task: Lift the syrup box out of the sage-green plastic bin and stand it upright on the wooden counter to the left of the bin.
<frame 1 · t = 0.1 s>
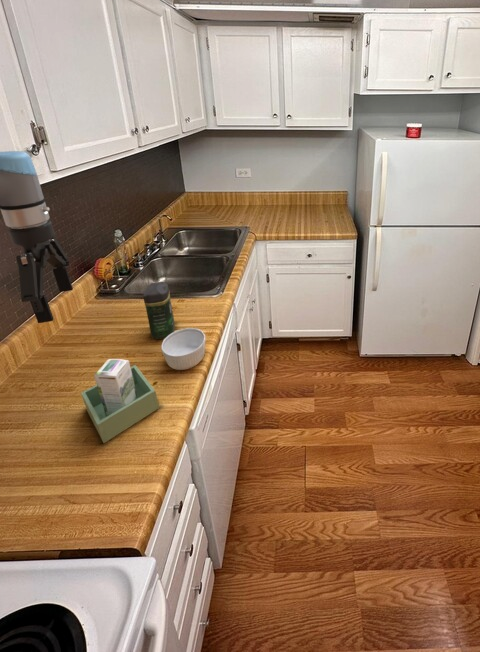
hand: (57, 304, 81), 31 cm above the counter, tool pointing down, fingers open, 13 cm apart
ramekin: (186, 358, 108), on the counter
syrup box: (123, 408, 90), resting on bin
bin: (123, 409, 90), on the counter
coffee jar: (164, 331, 120), on the counter
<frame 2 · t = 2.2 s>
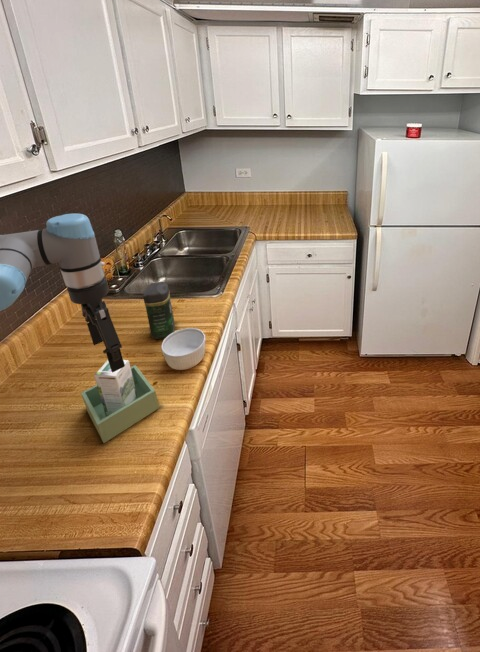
hand: (108, 354, 83), 19 cm above the counter, tool pointing down, fingers open, 13 cm apart
nothing on the counter moved.
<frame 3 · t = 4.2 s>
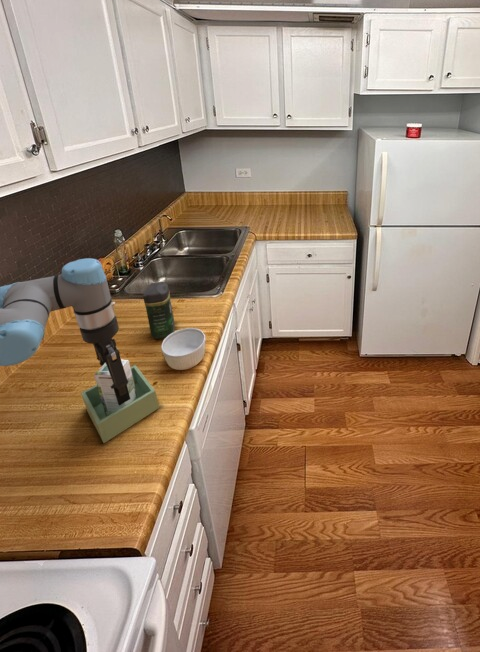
hand: (118, 392, 87), 6 cm above the counter, tool pointing down, fingers closed on syrup box, 8 cm apart
syrup box: (123, 408, 90), resting on bin, touching gripper
everything else where it was.
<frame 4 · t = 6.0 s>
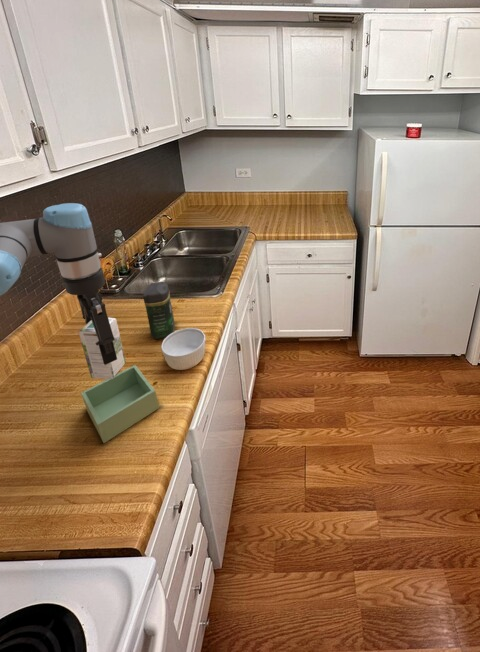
hand: (104, 352, 83), 19 cm above the counter, tool pointing down, fingers closed on syrup box, 8 cm apart
syrup box: (109, 371, 85), point 13 cm above the counter, touching gripper
everything else where it was.
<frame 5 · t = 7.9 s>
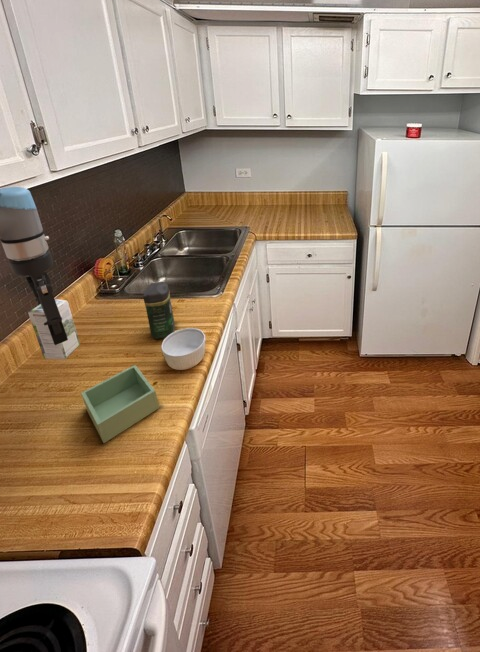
hand: (57, 334, 85), 22 cm above the counter, tool pointing down, fingers closed on syrup box, 8 cm apart
syrup box: (63, 352, 87), point 16 cm above the counter, touching gripper
everything else where it was.
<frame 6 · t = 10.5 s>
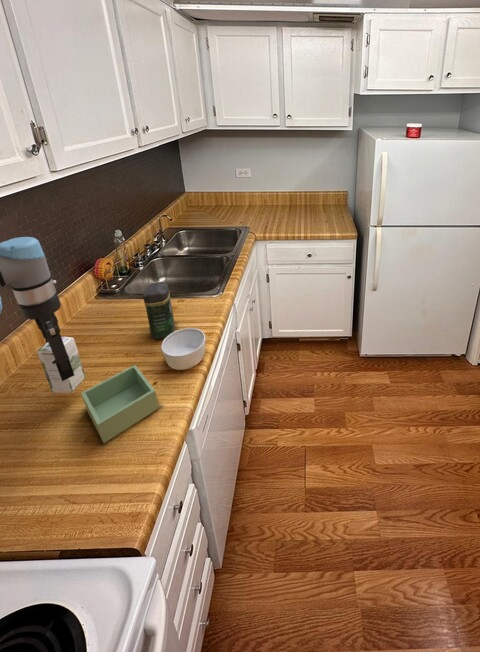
hand: (64, 369, 90), 10 cm above the counter, tool pointing down, fingers closed on syrup box, 8 cm apart
syrup box: (70, 385, 92), point 4 cm above the counter, touching gripper
everything else where it was.
when the fingers open (6 cm above the counter, at t = 12.0 s): syrup box stays where it is, on the counter.
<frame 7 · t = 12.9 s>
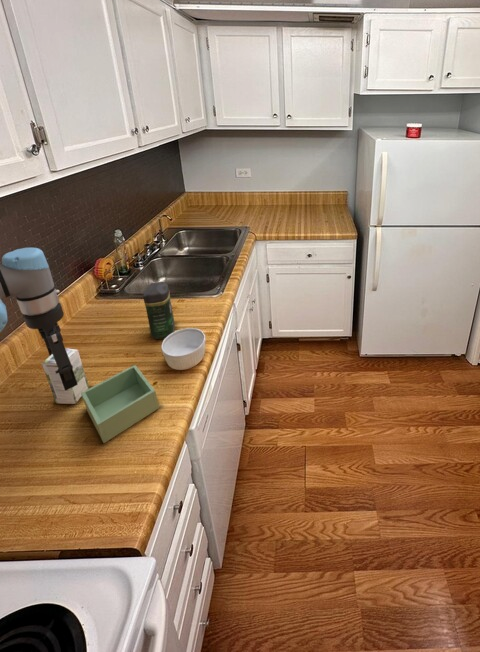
hand: (64, 373, 90), 8 cm above the counter, tool pointing down, fingers open, 13 cm apart
syrup box: (73, 396, 94), on the counter
everything else where it was.
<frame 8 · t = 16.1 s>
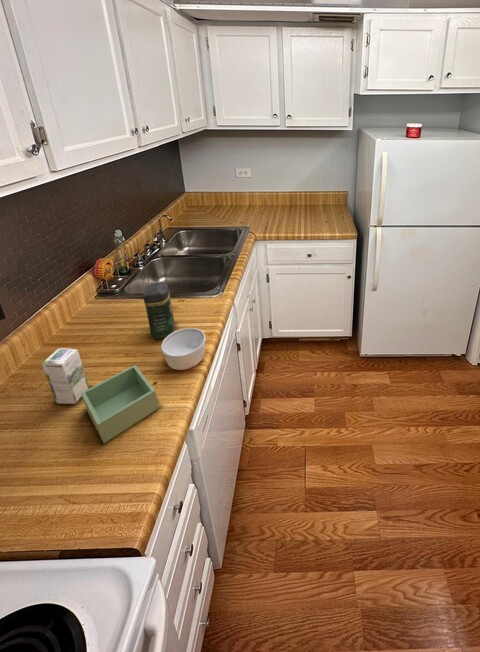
nothing on the counter moved.
at the end: syrup box inside the target area (0.1 cm from its centre), on the counter; syrup box tilted 0°; the gripper is holding nothing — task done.
